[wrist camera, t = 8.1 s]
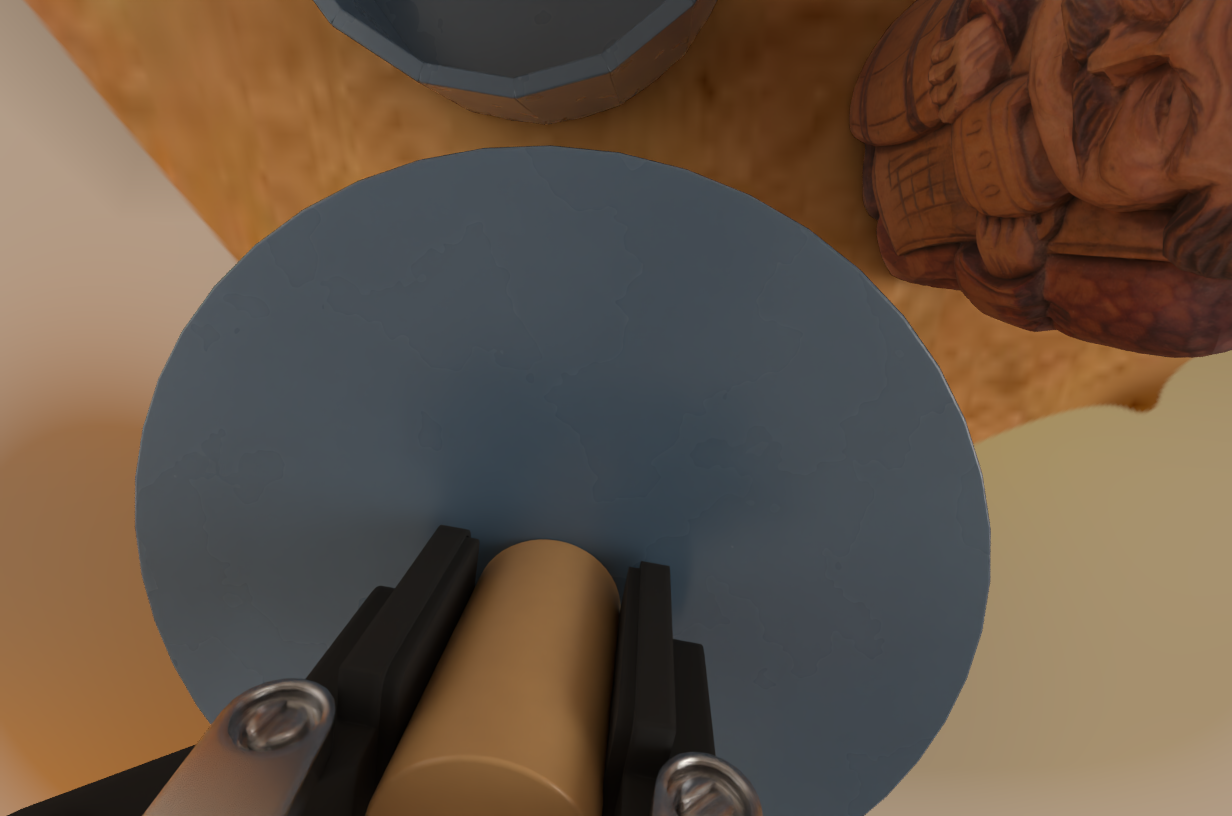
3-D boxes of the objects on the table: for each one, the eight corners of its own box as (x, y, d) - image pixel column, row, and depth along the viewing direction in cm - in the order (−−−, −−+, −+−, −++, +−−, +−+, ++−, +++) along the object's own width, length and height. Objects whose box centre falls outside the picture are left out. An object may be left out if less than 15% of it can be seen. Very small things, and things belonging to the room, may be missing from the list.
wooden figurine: (827, 7, 24) (1255, -516, 7) (1001, -47, 23) (1987, -796, 6) (872, 306, 27) (1241, 461, 10) (1026, 268, 26) (1719, 368, 9)
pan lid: (1097, 242, 11) (1631, 270, 5) (837, 917, 15) (946, 1339, 10) (154, 76, 11) (-434, -92, 5) (188, 797, 16) (-90, 1141, 10)
